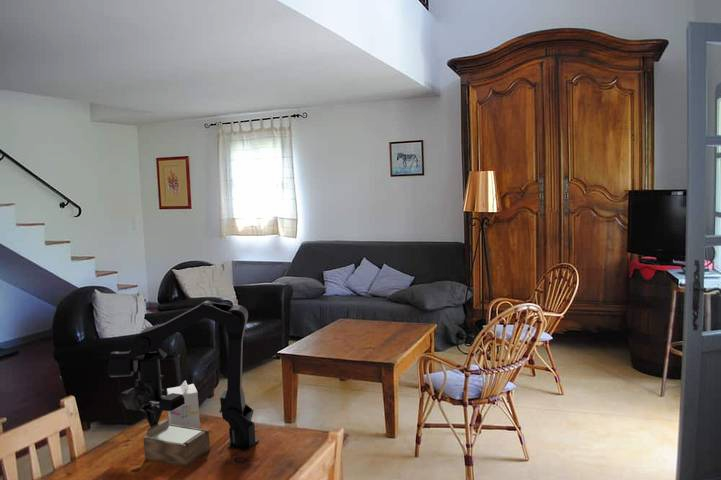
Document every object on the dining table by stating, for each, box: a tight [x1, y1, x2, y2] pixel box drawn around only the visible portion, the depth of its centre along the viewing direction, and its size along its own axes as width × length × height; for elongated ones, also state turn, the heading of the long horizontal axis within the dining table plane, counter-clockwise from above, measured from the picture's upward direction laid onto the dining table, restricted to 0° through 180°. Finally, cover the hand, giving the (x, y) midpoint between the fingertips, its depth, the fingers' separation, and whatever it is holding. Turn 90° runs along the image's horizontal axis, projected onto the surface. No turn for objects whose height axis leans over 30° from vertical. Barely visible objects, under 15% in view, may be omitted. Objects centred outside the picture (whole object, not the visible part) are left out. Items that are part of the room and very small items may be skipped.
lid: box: [144, 419, 202, 445], centre depth 161 cm, size 13×8×3 cm, turn 67°
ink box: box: [166, 380, 201, 429], centre depth 179 cm, size 9×8×13 cm
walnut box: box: [142, 424, 211, 468], centre depth 161 cm, size 14×10×6 cm
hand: (153, 428), depth 163 cm, fingers closed
